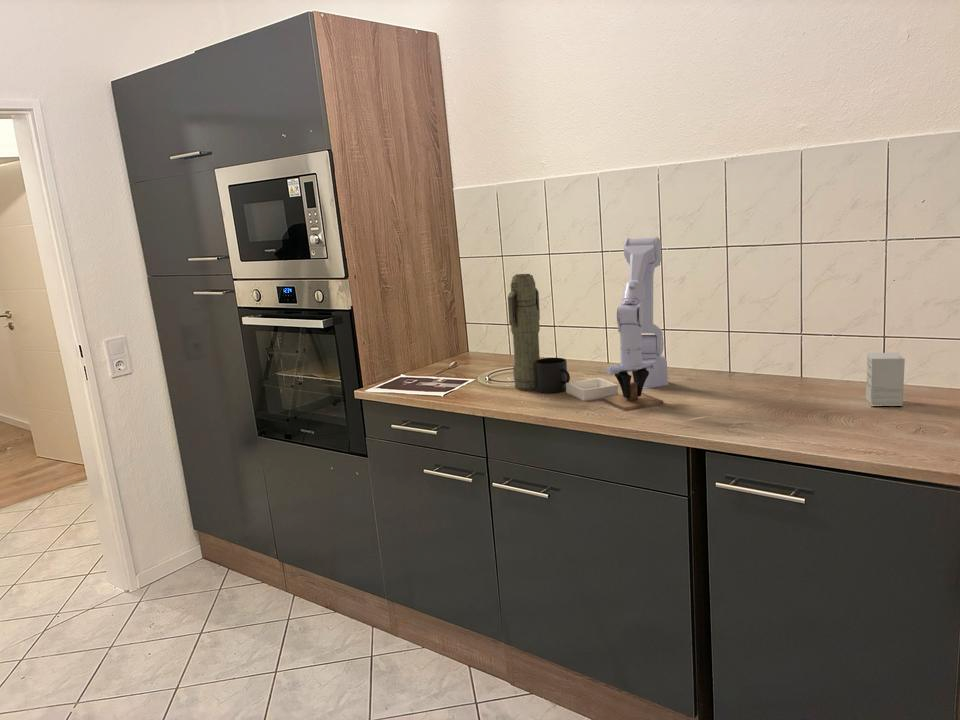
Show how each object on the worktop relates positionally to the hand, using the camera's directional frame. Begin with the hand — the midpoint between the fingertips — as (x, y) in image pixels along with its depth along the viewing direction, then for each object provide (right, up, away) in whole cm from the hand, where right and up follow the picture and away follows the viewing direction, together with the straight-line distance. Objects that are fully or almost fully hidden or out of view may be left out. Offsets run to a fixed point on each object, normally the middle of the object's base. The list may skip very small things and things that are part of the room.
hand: (632, 396), depth 202 cm
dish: (-9, 0, +12) cm, 15 cm away
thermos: (-27, +2, +28) cm, 39 cm away
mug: (-19, +1, +21) cm, 28 cm away
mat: (0, -2, 0) cm, 2 cm away
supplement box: (+61, -1, -15) cm, 63 cm away
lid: (0, -1, 0) cm, 2 cm away
